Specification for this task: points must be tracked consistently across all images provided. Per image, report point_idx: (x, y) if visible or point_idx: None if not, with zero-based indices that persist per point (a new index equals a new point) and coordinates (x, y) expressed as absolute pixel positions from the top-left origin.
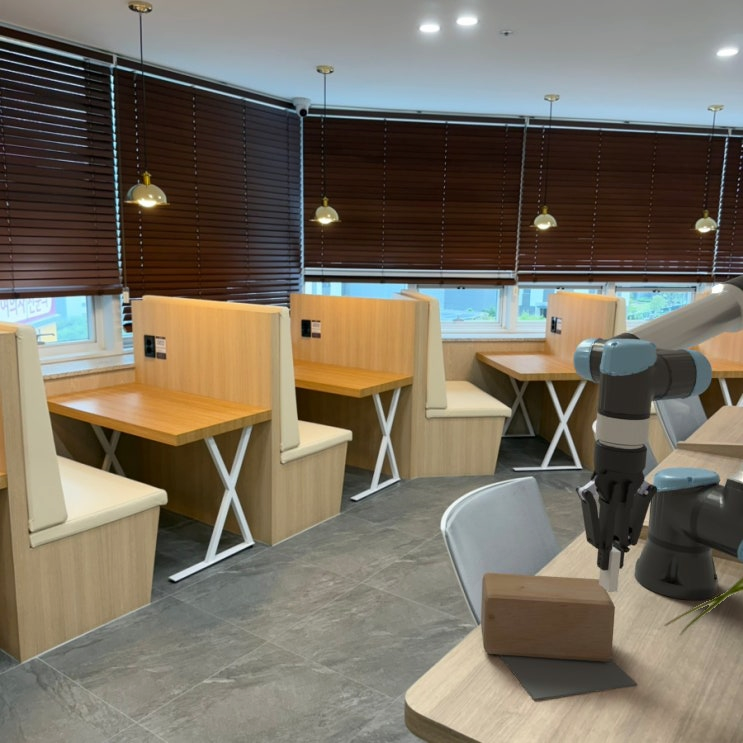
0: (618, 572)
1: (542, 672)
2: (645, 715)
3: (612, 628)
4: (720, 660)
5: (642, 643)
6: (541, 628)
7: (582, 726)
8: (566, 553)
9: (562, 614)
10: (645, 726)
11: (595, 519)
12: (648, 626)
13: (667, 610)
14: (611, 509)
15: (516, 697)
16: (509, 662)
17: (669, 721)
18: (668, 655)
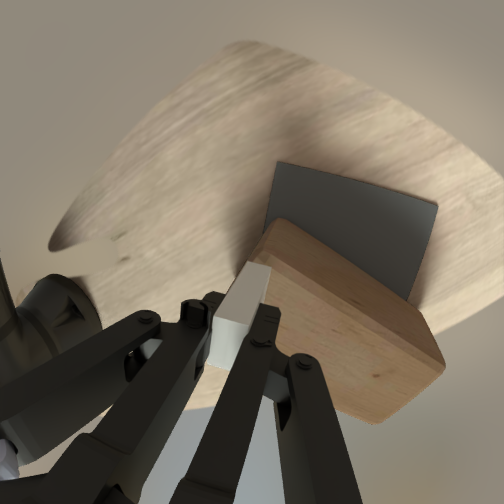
0: (235, 282)
1: (387, 247)
2: (321, 106)
3: (271, 232)
4: (122, 164)
5: (186, 238)
6: (378, 296)
7: (418, 133)
8: None
9: (355, 292)
10: (339, 90)
11: (330, 466)
12: (149, 266)
13: (106, 280)
14: (227, 494)
15: (449, 223)
16: (408, 286)
17: (298, 83)
18: (174, 199)
